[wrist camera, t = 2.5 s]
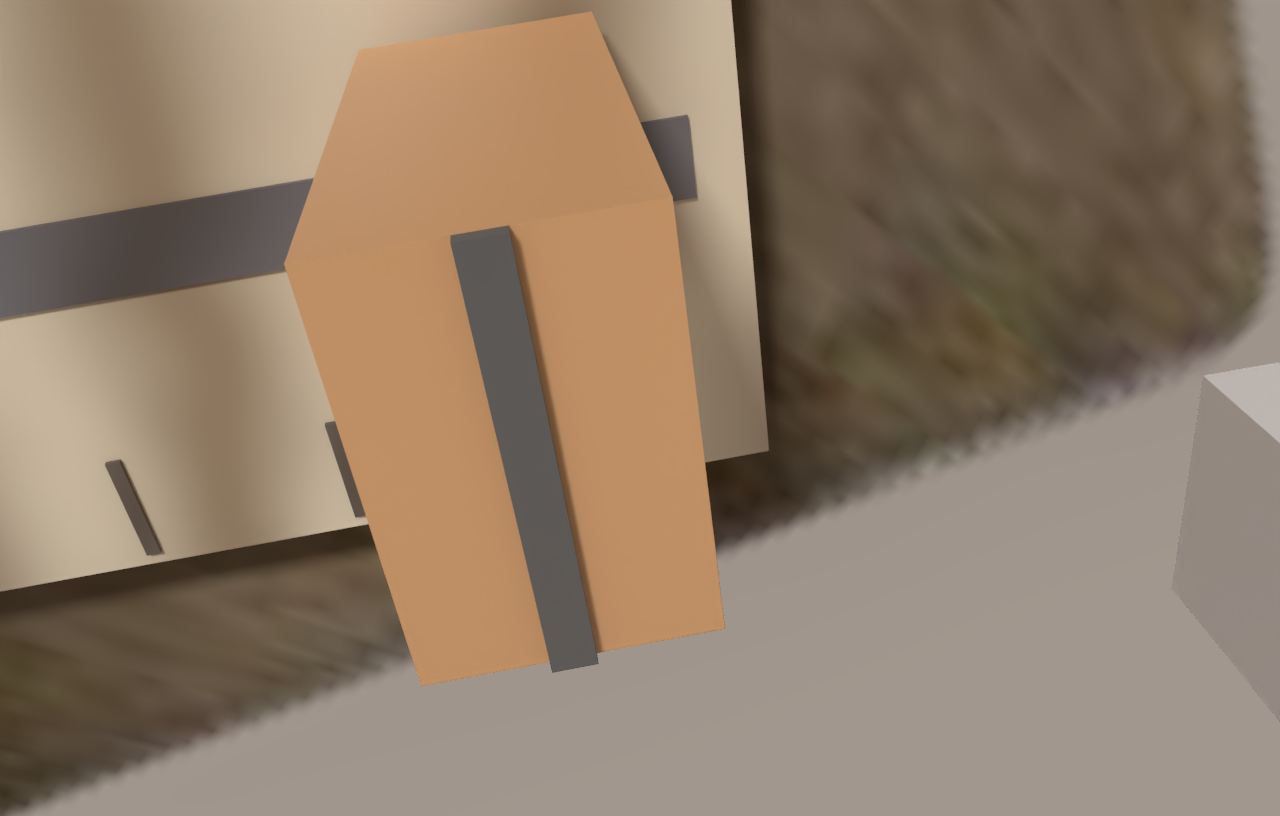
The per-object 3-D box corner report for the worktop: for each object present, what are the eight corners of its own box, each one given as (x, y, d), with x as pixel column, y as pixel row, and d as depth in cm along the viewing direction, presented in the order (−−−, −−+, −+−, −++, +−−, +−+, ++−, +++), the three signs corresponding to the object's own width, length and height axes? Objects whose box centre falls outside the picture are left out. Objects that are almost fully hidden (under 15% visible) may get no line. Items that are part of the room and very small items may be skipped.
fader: (437, 356, 22) (421, 697, 14) (358, 50, 19) (281, 272, 11) (637, 321, 22) (728, 639, 15) (591, 11, 19) (675, 204, 11)
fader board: (-236, 583, 26) (-289, 647, 24) (-698, -68, 18) (-824, -47, 17) (749, 405, 27) (770, 453, 25) (686, -282, 19) (708, -284, 18)
